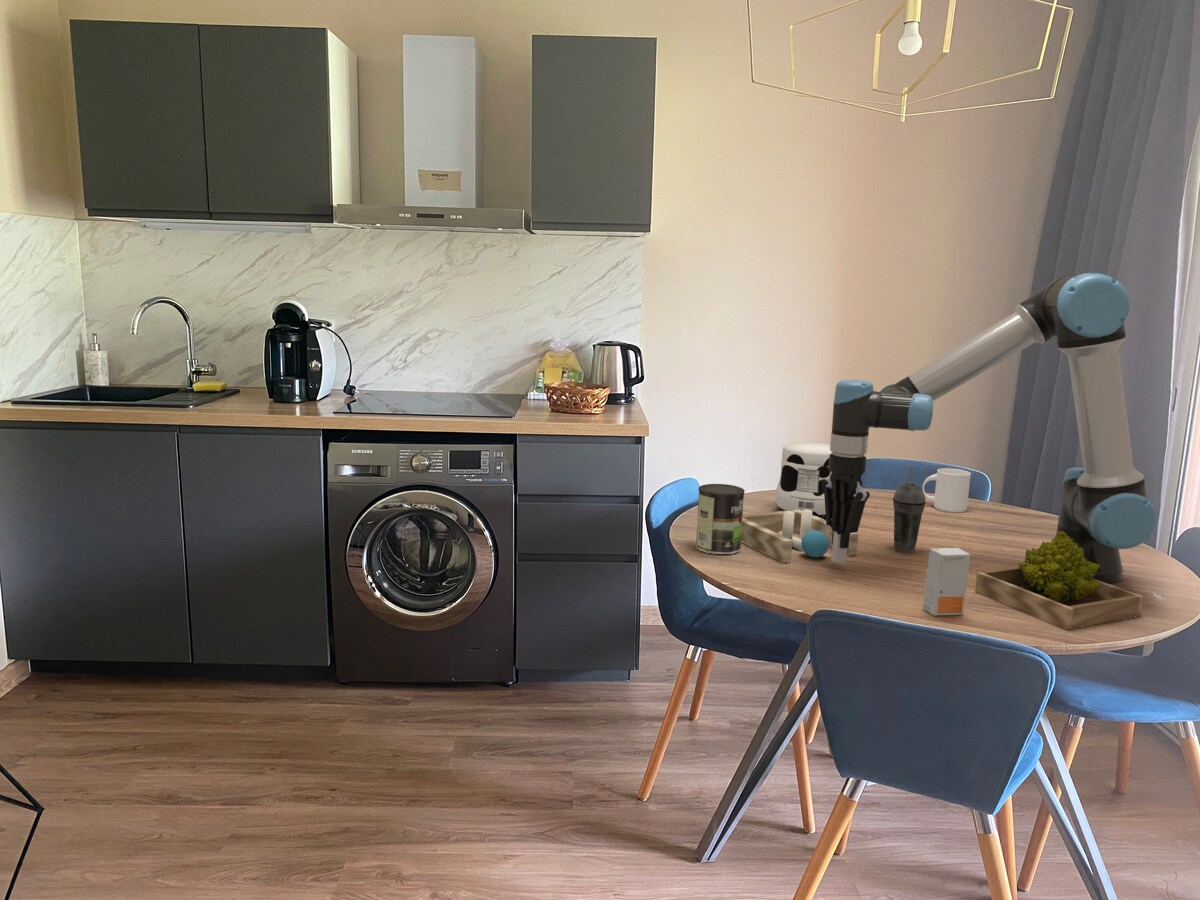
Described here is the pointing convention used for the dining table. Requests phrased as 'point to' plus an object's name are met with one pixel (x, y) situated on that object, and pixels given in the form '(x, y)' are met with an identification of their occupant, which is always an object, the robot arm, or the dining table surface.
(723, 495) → the coffee can
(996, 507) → the dining table surface
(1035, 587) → the vegetable
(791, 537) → the pin back left
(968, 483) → the mug
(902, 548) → the beverage cup
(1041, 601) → the crate
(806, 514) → the pin back right
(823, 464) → the milk container
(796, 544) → the pin front
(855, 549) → the bumper
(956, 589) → the skincare box
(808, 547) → the ball
